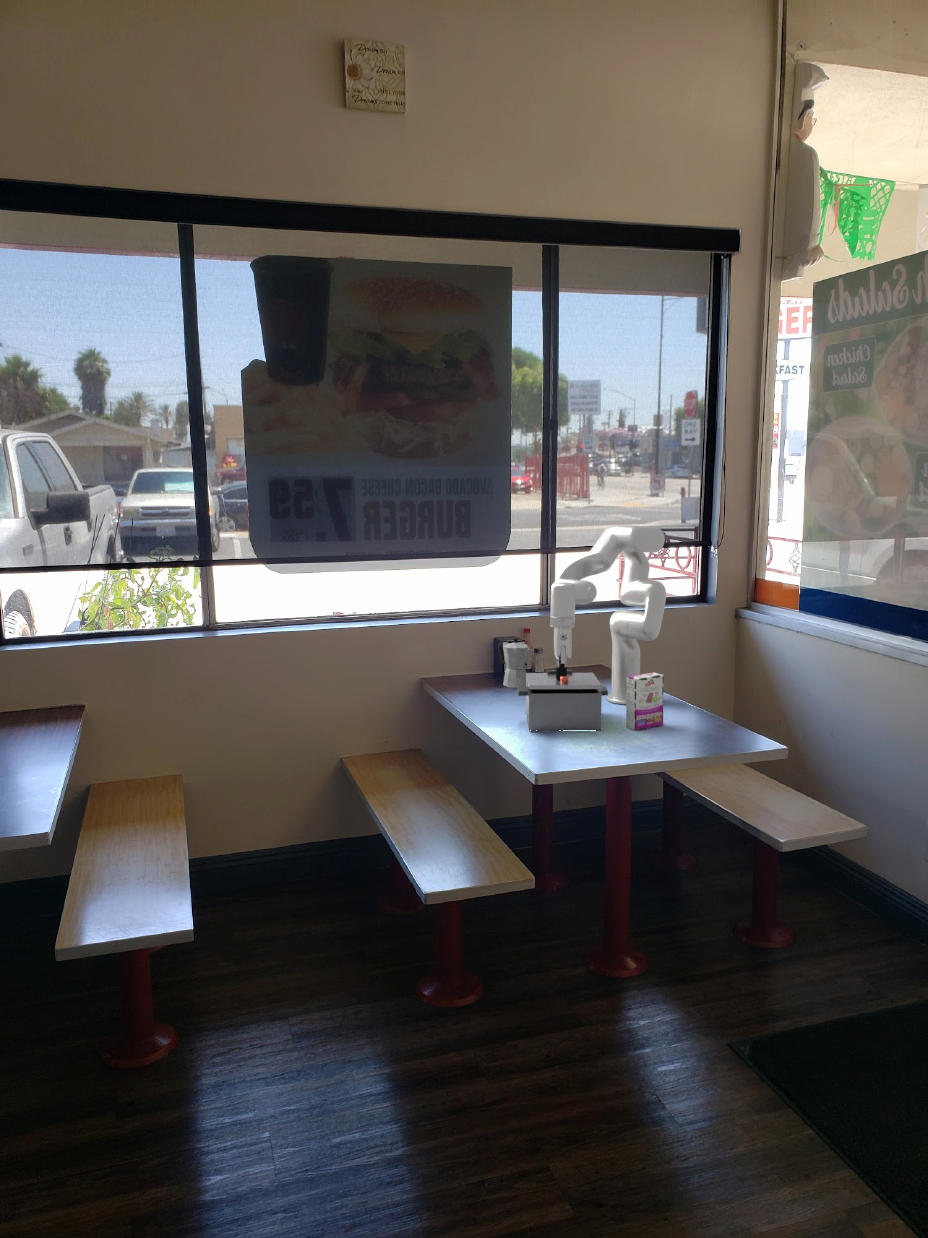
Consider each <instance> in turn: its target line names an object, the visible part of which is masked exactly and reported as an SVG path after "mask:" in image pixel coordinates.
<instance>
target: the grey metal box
mask: <svg viewBox="0 0 928 1238" xmlns="http://www.w3.org/2000/svg"><path fill="white" fill-rule="evenodd" d="M608 695H609V691H608V688H607V687H606V685H605V686H604V685H603V686H602V689H529V687H528V683H527V679H526V687H518V688H517V696H518V697H521V696H524V697H525V715H527V716H526V722H527V726H528V732H529V731H530V730H531V731H536V730H537V731H559V730H561V731H563V730H596V731H601V732H602V696H608Z"/></svg>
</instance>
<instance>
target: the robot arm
mask: <svg viewBox="0 0 928 1238" xmlns="http://www.w3.org/2000/svg"><path fill="white" fill-rule="evenodd" d="M665 537H666V536H665V534H664V532H663V530H662V529H661V528H659V527H658V526H642V525H641V526H640V525H631V524H612V525H611V524H610V525H609V526H607V527H606V528H604V530H603V532H602V533H601V535H599V538H597V541H596V542H595V543H594V545H593V546H592V547H591V548H590V550H589V552H587V554H585V555H583V556H581V557H579V558H577V559H575V560H574V561H572V562H570V563H569V564H568V565H566V566H565V567H564V568H563V570H561V572H560V573H559V575H558V576H557V577H556V579H555V581H554V582H553V583H552V584H551V587H550V618H549V619H550V621H549V623H550V626H549V627H551V628H553V652H554V653H553V654H554V656H555V659H556V667H555V670H556V680H560V677H561V676H567V670H568V668H567V662H568V661H567V659H568V660H572V658H573V656H572V654H573V653H572V651H573V650H572V648H573V647H572V641H573V640H572V639H573V638H572V637H573V636H572V635H573V634H572V633H573V632H572V629H573V628H575V621H576V616H575V615H576V605H589V604H591V603H592V602H594V601H595V599H596V597H597V593H598V591H597V587H596V585H595V583H593V582H591V581H588V580H585V578H588V577H591V576H596V575H599V574H602V573H605V572H607V571H608V570H609V569H611V567H612V566H613V564H615V562H616V560H617V559H618V557H619V556H620V554H622V558H623V561H624V563H623V564H624V566H623V567H624V568H623V573H622V579H621V584H620V588H619V589H620V591H619V600H620V603H622V605H625V606H628V607H635V608H644V611H641V610H634V609H626V608H625V609H619V610H615V611H614V612H613V613H611V616H610V619H609V628H610V629H609V630H610V636H611V645H612V646H611V649H612V650H611V693H608V695H606V700H607V701H608V702H609V703H612V704H620V705H626V677H628V676H634V675H641V648H640V645H639V643H638V641H637V640H639V641H640V640H641V641H649V642H650V641H654V640H656V639H657V638H658V636H659V634H660V631H661V628H662V624H663V618H664V614H665V613H664V612H665V608H666V601H667V591H666V587H665V585H664V584H663V583H662V582H660V581H658V580H654V579H653V580H652V579H649V573H650V566H651V565H650V563H649V562H650V561H649V559H648V557H647V555H646V553H653V554H655V553H658V552H659V551H661V550H662V549H663V547H664V545H665V541H666V539H665ZM582 579H584V580H582Z"/></svg>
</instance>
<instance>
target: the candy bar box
mask: <svg viewBox="0 0 928 1238" xmlns="http://www.w3.org/2000/svg"><path fill="white" fill-rule="evenodd" d="M664 676H665V675H664V674H662V673H657V672H649V673H642V674H641V673H640V675H634V676H628V677H626V704H625V706H626V707H625V709H626V711H625V712H626V713H625V714H626V715H625V719H626V720H625V721H626V722H625V724H626V725H625V727H626V728H627V729H629V728H630V730H633V731H634V732H636V730H637V731H641V730H647V728H648V729H652V728H658V727H663V726H664V684H665V683H664V679H665V678H664Z"/></svg>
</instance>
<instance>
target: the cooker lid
mask: <svg viewBox="0 0 928 1238" xmlns="http://www.w3.org/2000/svg"><path fill="white" fill-rule="evenodd" d="M526 679H527V683H528V687H529V689H602V683H601V682H600V680H599V679H598V678H597V676H596V675H595V674H594V672H573V670H572V669H567V676H561V677H560V680H556V669H553V670H552V669H547V672H526Z"/></svg>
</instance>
